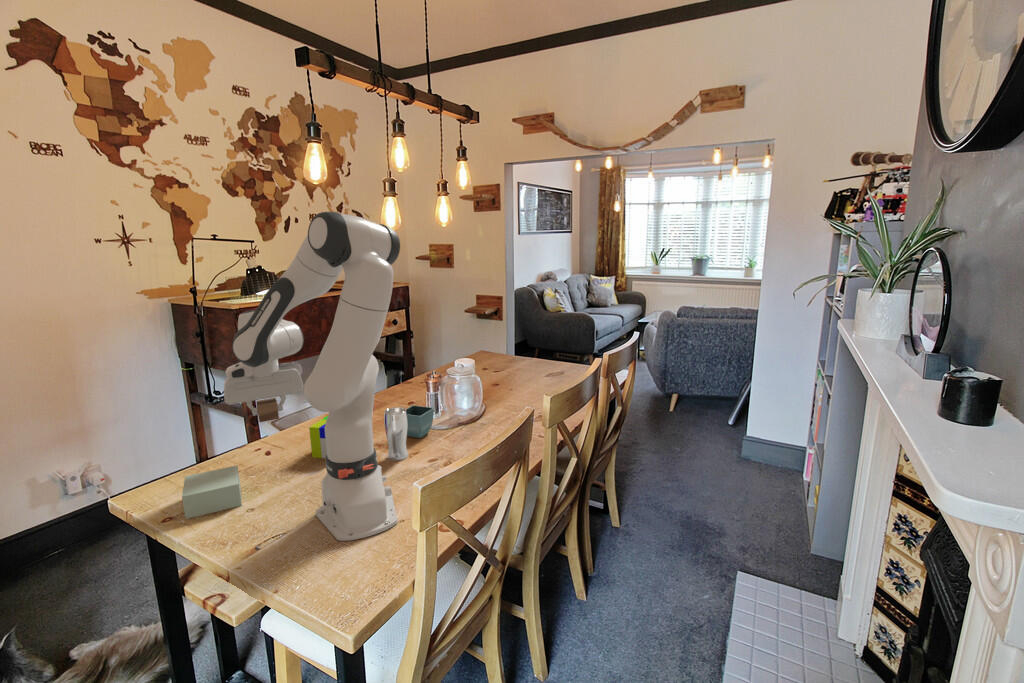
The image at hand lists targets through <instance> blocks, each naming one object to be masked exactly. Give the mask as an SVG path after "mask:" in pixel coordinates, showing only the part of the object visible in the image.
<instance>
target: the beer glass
mask: <svg viewBox="0 0 1024 683" xmlns="http://www.w3.org/2000/svg"><path fill="white" fill-rule="evenodd" d="M406 409H407V408H405V407H400V406H397V407H396V406H395V407H390V408H386V409H385V410H384V411H383V416H384V419H383V421H384V423H383V424H384V431H385V436H386V439H387V445H388V453H387V458H388V460H390V461H395V462H396V461H403V460H406V459H407V458H408V457H409V452H408V448H407V438H408V435H407V431H408V420H407V413H406Z"/></svg>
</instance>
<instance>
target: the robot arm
mask: <svg viewBox="0 0 1024 683" xmlns="http://www.w3.org/2000/svg"><path fill="white" fill-rule="evenodd" d="M400 251H401V240H400V237H399V235H398V233H397V232H396V231H395V230H394V229H392V228H391V227H390V226H388V225H385V224H383V223H382V224H381V223H377V222H374V221H372V220H368V219H365V218H364V217H361V216H357V215H352V214H351V215H350V214H343V213H339V212H337V211H322V212H318V213H317V214H316V215H315V216H314V217H313V218H312V220H311V221H310V223H309V225H308V229H307V235H306V236H305V238H304V240H303V241H302V243H301V244H300V247H299V248H298V251H297V252H296V255H295V256H294V258H293V260H292V261H291V263H290V265H289V266H288V267H287V269H286V270H285V271H284V272H283V274H281V276H280V277H279V278H278V279H277V280H276V281H275V282H274V283H273V284H272V285H271V286H270V287H269V288H268V290H267V292H266V293H265V295H264V296H263V298H262V299H261V301H260V303H259V304H258V306H257V307H256V308H255V309H251V310H247V311H243V312H241V313H240V314H239V316H238V319H237V320H238V321H237V332H235V334H234V337H233V339H232V345H231V347H232V349H231V350H232V353H233V355H234V357H235V358H236V359H237V361H239V362H237V363H235V364H232V365H231V366H230V365H229V366H228V367H227V368H226V370H225V375H226V378H225V380H224V384H223V397H224V403H225V404H226V405H228V406H229V405H236V404H241V403H242V404H243V403H245V404H246V406H247V407H248V408H249V409H250V411H251V413H252V416H253V417H254V416H258V409H257V407H254V406H253V402H254V401H258V400H264V399H270V398H277V397H278V398H279V399H280V401H279V403H277V407H278V412H281V411H284V408H283V406H284V403H285V401H286V399H287V398H286V396H288V395H295V394H300V393H302V392H303V394H304V398H305V400H306V402H308V404H309V406H310V407H312V408H313V409H315V410H316V411H319V412H322V413H328V415H327V416H328V418H327V420H326V423H325V437H326V448H327V455H326V458H325V468H326V475H325V476H324V477H323V479H322V480H321V481H320V484H321V486H320V487H321V500H322V502H321V503H322V504H321V506H319V507H318V508H317V509H316V510H315V517H317V518H318V520H320V522H321V523H322V524H323V525H324V526H325V528H326V529H327V530H328V531H329V532H330V533H331V534H332V535H333V537H334V538H335V539H336V540H337V541H341V542H342V541H343V542H344V541H347V542H348V541H355V540H359V539H363V538H368V537H370V536H374V535H377V534H379V533H382V532H385V531H387V530H389V529H392V527H394V526H395V525H397V524H398V517H397V511H396V507H395V501H394V496H393V493H392V487H391V485H388V486H385V485H384V482H387V475H383V471H382V466H381V465H379V464H378V455H377V451H376V448H375V447H374V446H375V445H374V431H373V429H374V428H373V414H374V413H373V412H374V404H375V395H376V385H377V384H376V383H377V379H378V375H379V370H380V366H379V362H378V360H377V358H376V356H374V355H373V354H374V351H375V349H376V347H377V346H378V344H379V342H380V340H381V336H382V333H383V330H384V326H385V322H386V318H387V315H388V311H389V308H390V304H391V298H392V294H393V286H394V274H395V272H394V269H393V267H392V265H393V264H394V263H395V262H396V261H397V260H398V257H399V254H400ZM342 270H343V272H344V281H343V285H342V287H341V288H342V289H341V292H340V295H339V299H338V304H337V307H336V311H335V314H334V318H333V321H332V322H333V323H332V326H331V329H330V332H329V334H328V336H327V338H326V341H325V342H324V345H323V347H322V349H321V351H320V354H319V356H318V358H317V361H316V363H315V365H314V367H313V370H312V372H311V373H310V374H309V375H308V377H307V378H306V379H305V380H306V381H305V383H304V384H303V379H302V376H301V375H302V374H303V366H302V365H301V364H300V363H299V362H296V361H290V362H280V363H279V359H280V360H281V359H283V358H285V357H289V356H292V355H295V354H297V353H298V352H300V351H301V350H302V348H303V346H304V342H305V341H304V340H305V338H304V337H305V336H304V333H303V331H302V329H301V326H299V325H298V324H297V323H296V322H294V321H292V320H286V319H284V317H285V316H286V315H287V313H289V312H290V311H291V310H292V309H294V308H296V307H298V306H299V305H301V304H304V303H306V302H308V301H310V300H313V299H317V298H319V297H321V296H323V295H325V294H327V293H328V292H329V290H331V289H332V287H333V286H334V285H335V284H336V282H337V280H338V279H339V276H340V274H341V273H342Z"/></svg>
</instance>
